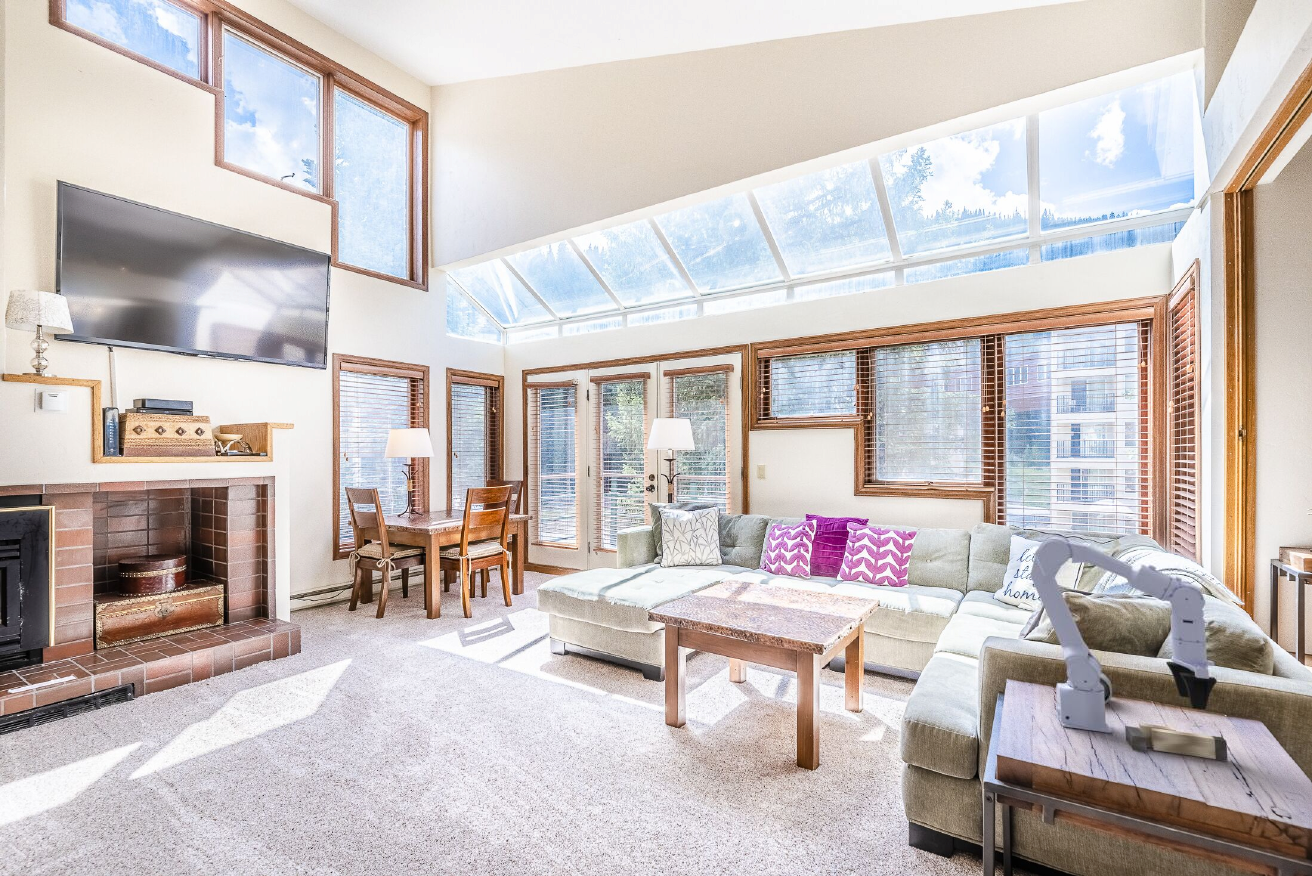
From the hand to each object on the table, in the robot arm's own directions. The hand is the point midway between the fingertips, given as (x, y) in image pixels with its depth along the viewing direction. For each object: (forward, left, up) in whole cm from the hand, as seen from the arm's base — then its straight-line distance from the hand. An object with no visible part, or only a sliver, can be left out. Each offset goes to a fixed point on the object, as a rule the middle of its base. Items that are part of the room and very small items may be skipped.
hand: (1192, 702), depth 133 cm
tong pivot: (-8, -5, -9) cm, 13 cm away
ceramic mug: (-15, +24, -10) cm, 30 cm away
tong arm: (-3, -6, -9) cm, 11 cm away
